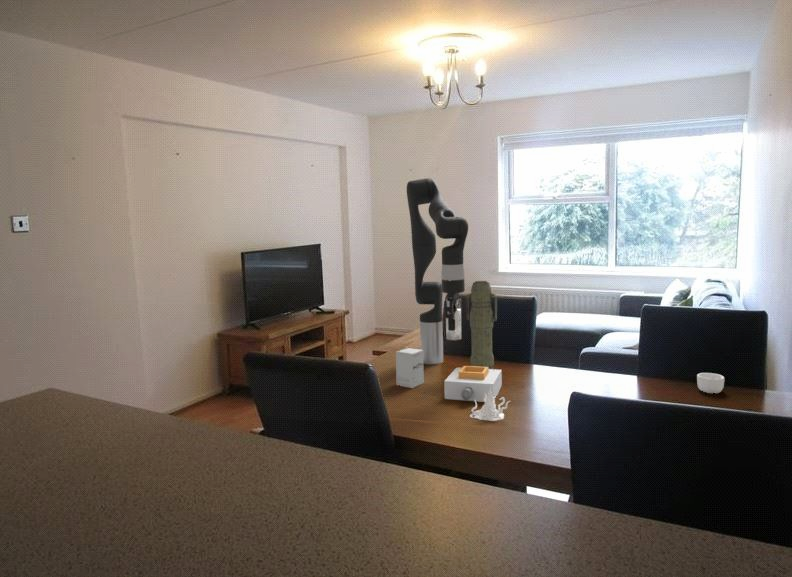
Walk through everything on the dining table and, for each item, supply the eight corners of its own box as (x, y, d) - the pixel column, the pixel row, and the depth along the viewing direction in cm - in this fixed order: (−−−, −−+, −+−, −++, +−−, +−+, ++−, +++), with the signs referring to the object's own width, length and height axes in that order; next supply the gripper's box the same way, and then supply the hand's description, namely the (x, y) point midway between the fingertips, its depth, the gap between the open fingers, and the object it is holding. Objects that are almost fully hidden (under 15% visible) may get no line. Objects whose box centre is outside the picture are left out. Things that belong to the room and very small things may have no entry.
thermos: (467, 368, 219) (466, 280, 215) (498, 369, 216) (497, 280, 212) (465, 374, 210) (463, 282, 206) (497, 375, 207) (496, 282, 203)
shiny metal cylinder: (448, 336, 187) (448, 307, 186) (463, 337, 186) (462, 308, 184) (444, 339, 183) (444, 310, 182) (459, 340, 181) (458, 310, 180)
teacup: (726, 396, 175) (726, 380, 174) (698, 394, 177) (699, 378, 177) (719, 387, 184) (720, 372, 183) (693, 386, 187) (694, 370, 186)
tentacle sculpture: (472, 410, 169) (471, 380, 168) (511, 412, 166) (511, 382, 165) (468, 420, 161) (467, 389, 160) (510, 423, 158) (510, 391, 157)
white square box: (456, 383, 198) (456, 361, 197) (501, 386, 193) (501, 364, 192) (441, 402, 177) (441, 378, 176) (491, 406, 172) (491, 381, 171)
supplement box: (412, 389, 193) (411, 353, 192) (395, 385, 198) (394, 351, 196) (424, 384, 199) (423, 349, 197) (408, 381, 203) (407, 347, 202)
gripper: (447, 275, 190) (448, 324, 192) (435, 280, 176) (437, 332, 178) (469, 275, 187) (469, 325, 189) (458, 280, 174) (459, 333, 176)
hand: (453, 328), depth 184 cm, fingers closed on shiny metal cylinder, 5 cm apart
